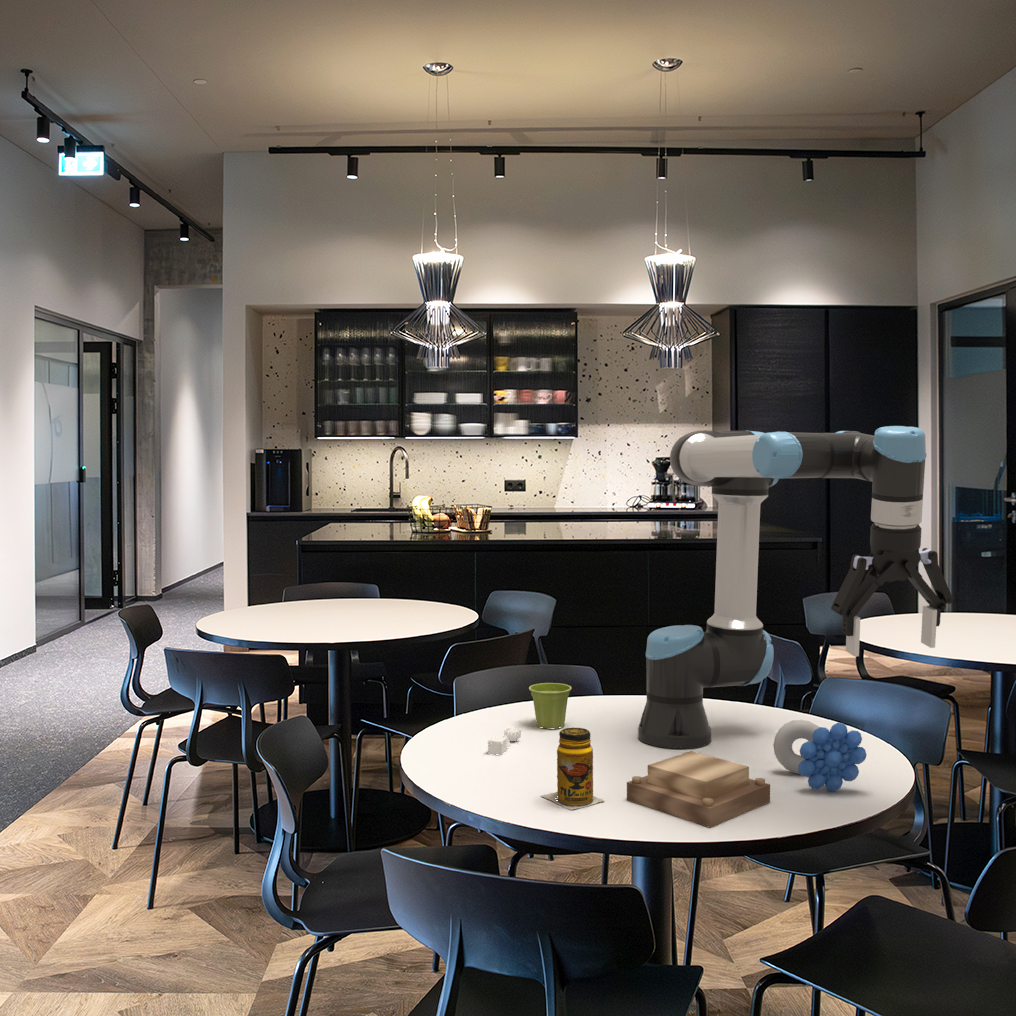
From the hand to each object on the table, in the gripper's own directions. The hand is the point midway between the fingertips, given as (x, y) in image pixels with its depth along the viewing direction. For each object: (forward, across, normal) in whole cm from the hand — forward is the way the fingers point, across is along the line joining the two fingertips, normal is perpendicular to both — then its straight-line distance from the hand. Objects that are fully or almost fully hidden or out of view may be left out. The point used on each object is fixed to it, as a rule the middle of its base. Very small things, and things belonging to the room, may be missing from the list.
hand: (890, 649), depth 151 cm
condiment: (+25, -52, +9) cm, 59 cm away
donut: (+29, -8, +14) cm, 33 cm away
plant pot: (+33, -46, +54) cm, 79 cm away
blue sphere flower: (+27, -7, +5) cm, 29 cm away
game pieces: (+30, -59, +41) cm, 78 cm away
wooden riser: (+25, -32, +4) cm, 41 cm away
